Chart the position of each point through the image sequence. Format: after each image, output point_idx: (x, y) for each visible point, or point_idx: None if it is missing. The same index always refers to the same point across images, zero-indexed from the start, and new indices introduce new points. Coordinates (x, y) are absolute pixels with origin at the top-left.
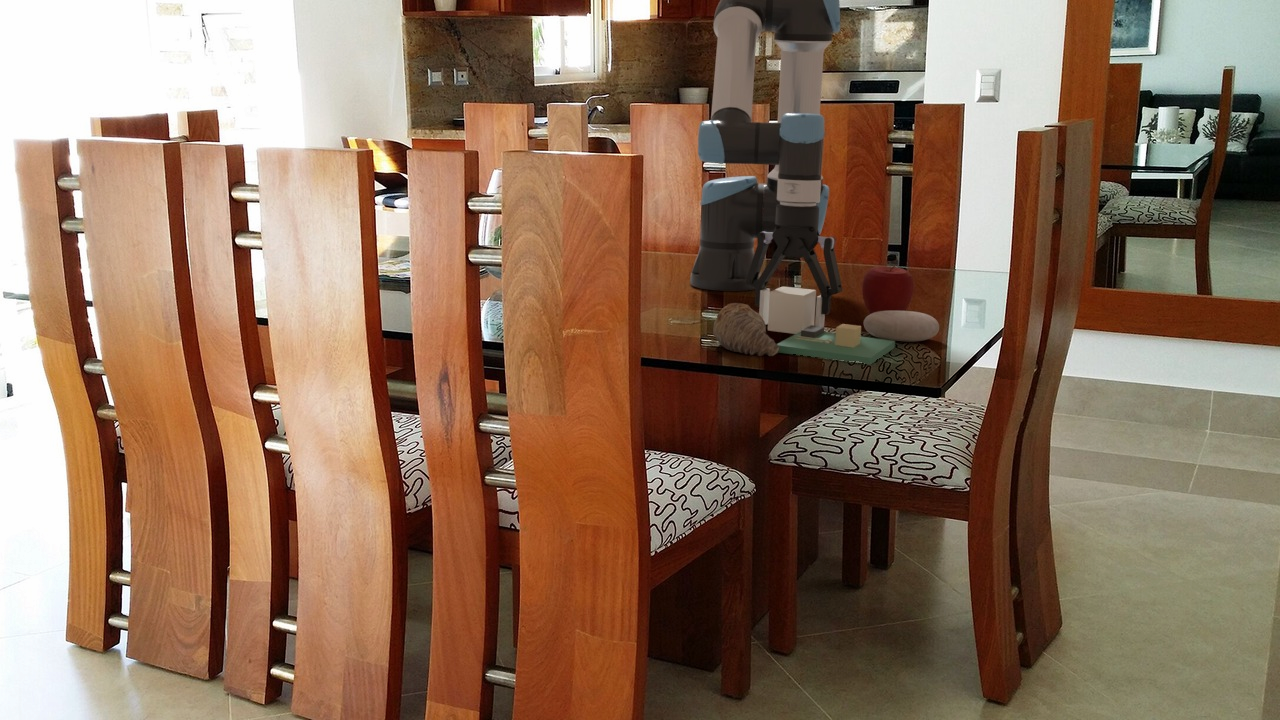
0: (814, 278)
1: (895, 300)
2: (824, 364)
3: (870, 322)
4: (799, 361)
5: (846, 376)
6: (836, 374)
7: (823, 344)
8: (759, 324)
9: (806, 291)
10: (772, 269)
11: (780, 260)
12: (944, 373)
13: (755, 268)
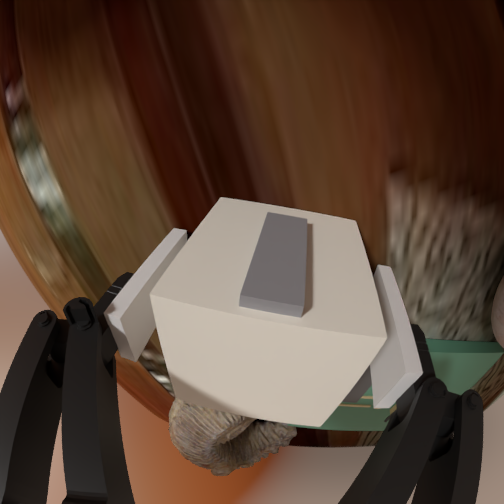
0: (359, 477)
1: None
2: (362, 431)
3: (499, 342)
4: (330, 431)
5: None
6: (371, 443)
7: (369, 412)
8: (242, 428)
9: (327, 380)
10: (123, 452)
11: (117, 493)
12: (487, 405)
13: (57, 412)
